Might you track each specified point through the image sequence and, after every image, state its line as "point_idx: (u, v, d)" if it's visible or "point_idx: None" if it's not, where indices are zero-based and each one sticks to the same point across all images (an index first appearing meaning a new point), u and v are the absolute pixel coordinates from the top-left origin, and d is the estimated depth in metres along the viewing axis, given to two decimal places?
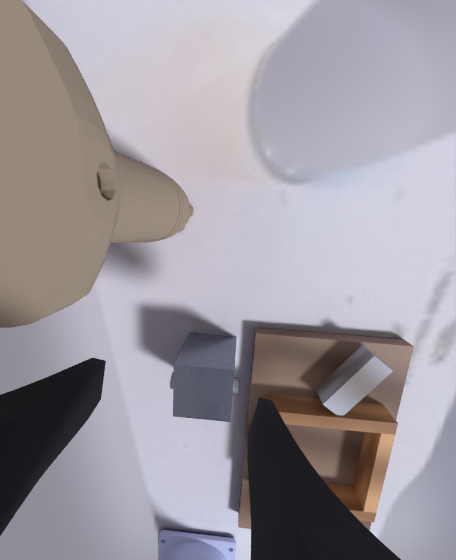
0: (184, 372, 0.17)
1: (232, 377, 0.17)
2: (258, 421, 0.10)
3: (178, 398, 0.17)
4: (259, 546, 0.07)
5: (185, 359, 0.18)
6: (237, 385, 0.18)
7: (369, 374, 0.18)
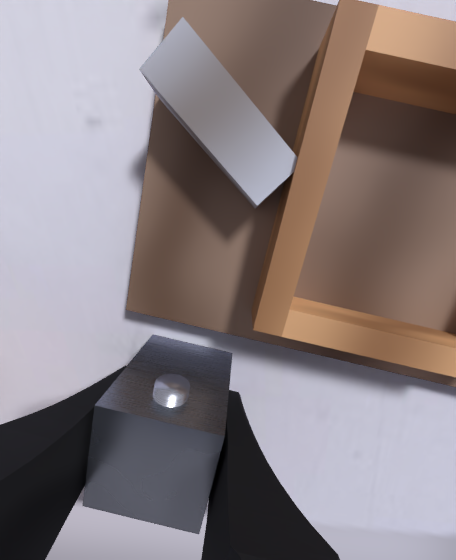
0: (99, 493, 0.08)
1: (113, 411, 0.08)
2: None
3: (157, 516, 0.08)
4: (208, 533, 0.07)
5: None
6: (157, 393, 0.08)
7: (187, 83, 0.07)
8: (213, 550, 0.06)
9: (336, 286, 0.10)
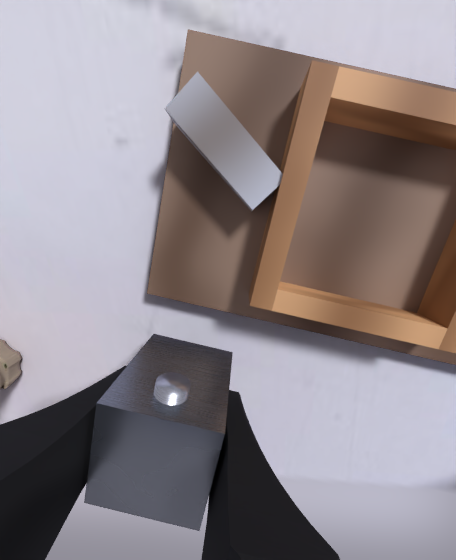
0: (101, 489, 0.08)
1: (115, 409, 0.08)
2: None
3: (158, 513, 0.08)
4: (208, 533, 0.07)
5: None
6: (158, 391, 0.08)
7: (200, 118, 0.10)
8: (213, 550, 0.06)
9: (316, 273, 0.13)
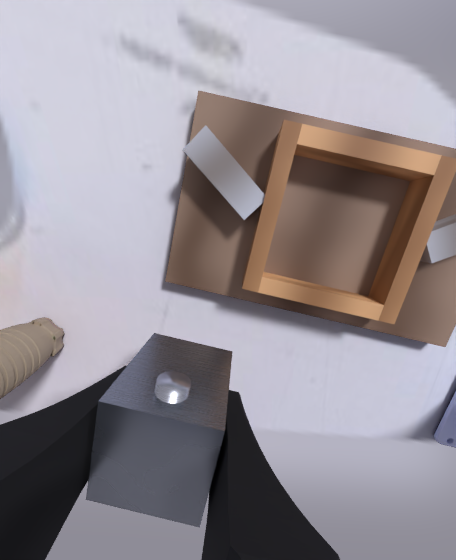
0: (102, 486, 0.09)
1: (116, 407, 0.08)
2: None
3: (159, 509, 0.09)
4: (208, 533, 0.07)
5: None
6: (159, 389, 0.08)
7: (207, 156, 0.14)
8: (213, 550, 0.06)
9: (292, 266, 0.17)
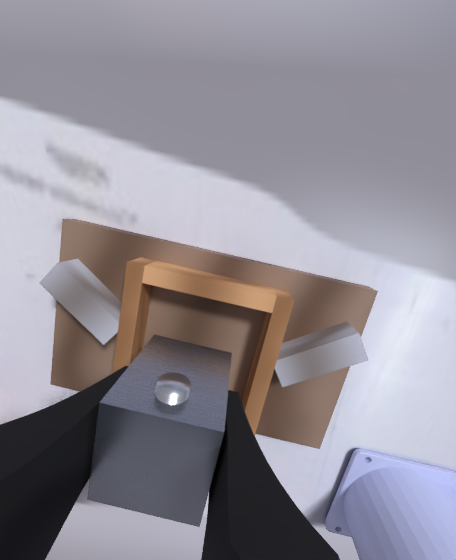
0: (103, 487, 0.09)
1: (117, 408, 0.08)
2: None
3: (159, 509, 0.09)
4: (208, 533, 0.07)
5: None
6: (159, 391, 0.09)
7: (63, 289, 0.15)
8: (213, 550, 0.06)
9: None
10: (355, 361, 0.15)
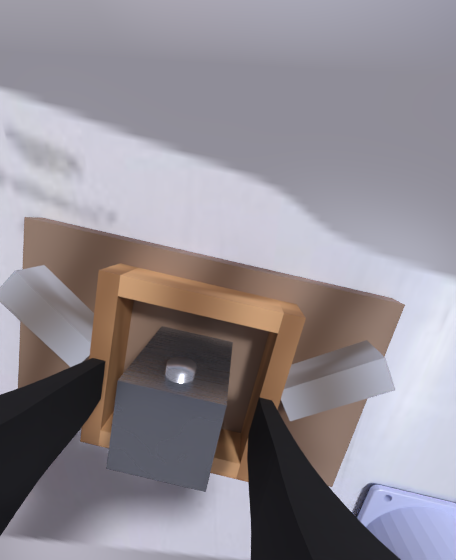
0: (120, 456, 0.10)
1: (133, 385, 0.09)
2: (258, 421, 0.10)
3: (170, 476, 0.10)
4: (259, 546, 0.07)
5: None
6: (169, 371, 0.10)
7: (22, 303, 0.12)
8: None
9: None
10: (379, 391, 0.12)
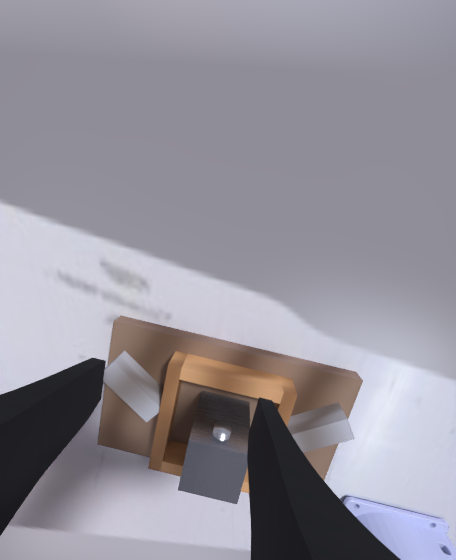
0: (187, 483, 0.17)
1: (197, 443, 0.16)
2: (258, 421, 0.10)
3: (216, 495, 0.17)
4: (259, 546, 0.07)
5: None
6: (216, 433, 0.17)
7: (116, 381, 0.19)
8: None
9: None
10: (344, 439, 0.19)
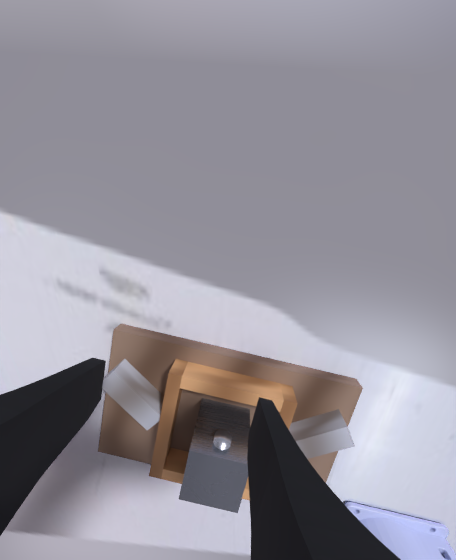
0: (188, 492, 0.17)
1: (198, 453, 0.16)
2: (258, 421, 0.10)
3: (216, 504, 0.17)
4: (259, 546, 0.07)
5: None
6: (216, 443, 0.17)
7: (116, 390, 0.19)
8: None
9: None
10: (344, 447, 0.19)
